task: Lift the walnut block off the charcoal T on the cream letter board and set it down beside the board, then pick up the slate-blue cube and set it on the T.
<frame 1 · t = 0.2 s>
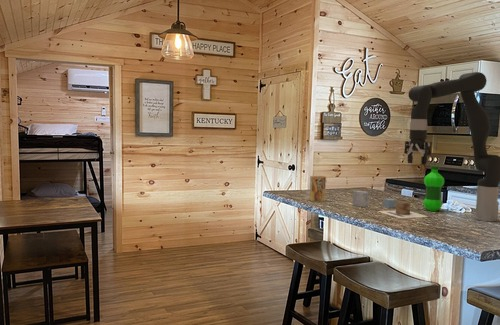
hand: (416, 163, 195), 29 cm above the table, fingers open, 8 cm apart
letter board: (402, 214, 220), on the table
slate cube: (389, 207, 240), on the table
plastic bottle: (432, 210, 235), on the table
walnut block: (402, 213, 220), resting on letter board
medicine box: (360, 206, 243), on the table
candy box: (317, 200, 260), on the table
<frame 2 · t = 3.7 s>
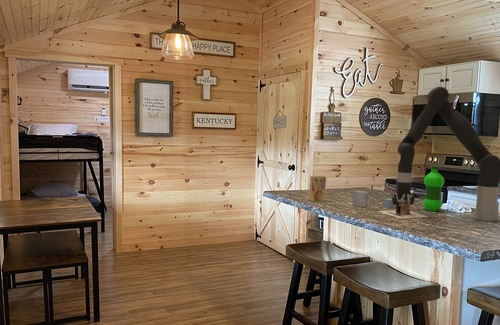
hand: (402, 212, 220), 1 cm above the table, fingers closed on walnut block, 5 cm apart
walnut block: (402, 213, 220), resting on letter board, touching gripper
everything else where it was.
when the fingers open (1 cm above the table, at t = 10.2 s): walnut block stays where it is, on the table.
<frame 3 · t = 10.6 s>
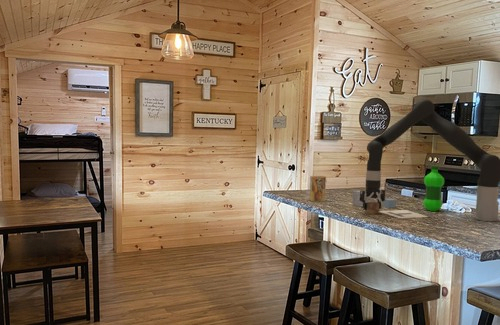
hand: (371, 209, 221), 2 cm above the table, fingers open, 8 cm apart
walnut block: (371, 213, 221), on the table
everything else where it was.
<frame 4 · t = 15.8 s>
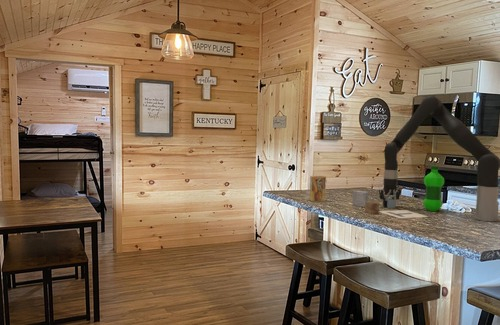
hand: (389, 206, 240), 0 cm above the table, fingers closed on slate cube, 5 cm apart
slate cube: (389, 207, 240), on the table, touching gripper
everything else where it was.
when the fingers open (2 cm above the table, at t = 22.6 s): slate cube drops 1 cm, resting on letter board.
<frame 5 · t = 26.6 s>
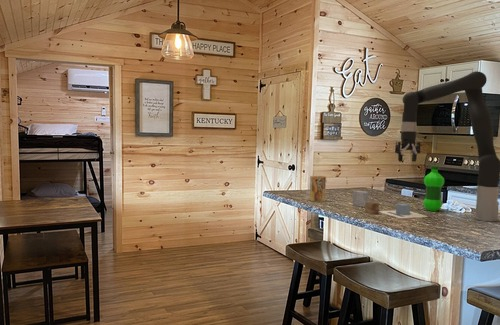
hand: (407, 161, 220), 28 cm above the table, fingers open, 8 cm apart
slate cube: (402, 213, 220), resting on letter board
everything else where it was.
at the end: slate cube inside the target area on the letter board (0.0 cm from its centre), point 0.4 cm above the letter board's base; slate cube tilted 0°; walnut block inside the target area (3.1 cm from its centre), on the table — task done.
